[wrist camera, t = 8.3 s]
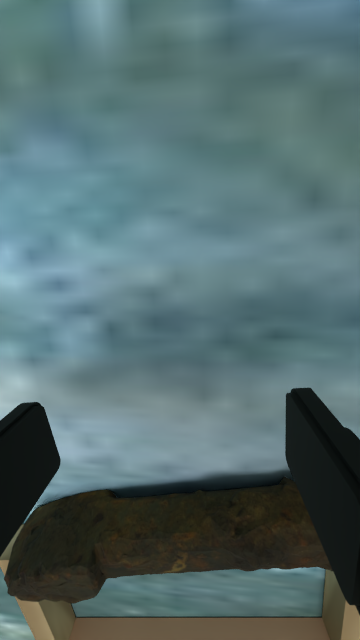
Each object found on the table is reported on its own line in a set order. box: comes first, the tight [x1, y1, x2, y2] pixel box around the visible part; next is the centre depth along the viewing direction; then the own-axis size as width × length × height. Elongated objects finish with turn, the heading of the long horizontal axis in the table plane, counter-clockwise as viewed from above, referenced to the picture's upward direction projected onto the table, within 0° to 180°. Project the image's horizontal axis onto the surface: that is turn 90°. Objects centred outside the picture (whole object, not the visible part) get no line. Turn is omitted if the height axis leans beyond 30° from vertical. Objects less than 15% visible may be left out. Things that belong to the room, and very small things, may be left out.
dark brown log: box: [4, 477, 333, 603], centre depth 13 cm, size 19×4×5 cm, turn 96°
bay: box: [0, 524, 360, 640], centre depth 16 cm, size 23×11×2 cm, turn 97°
